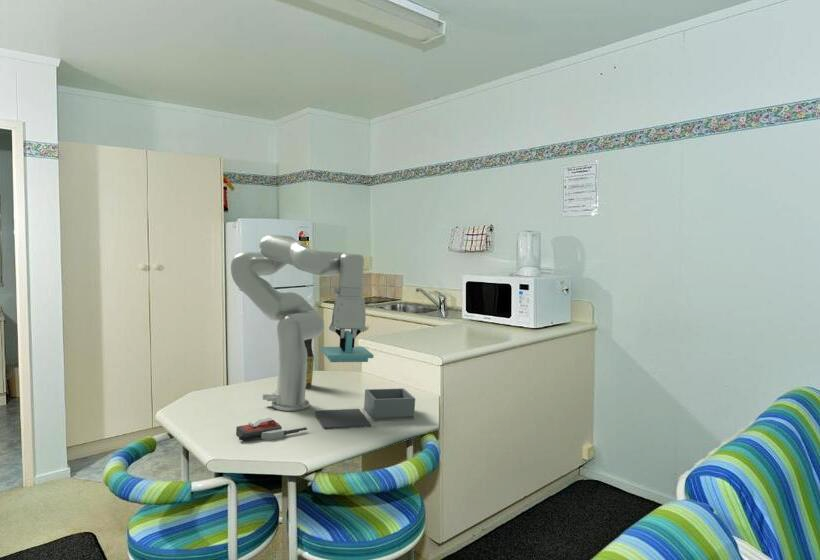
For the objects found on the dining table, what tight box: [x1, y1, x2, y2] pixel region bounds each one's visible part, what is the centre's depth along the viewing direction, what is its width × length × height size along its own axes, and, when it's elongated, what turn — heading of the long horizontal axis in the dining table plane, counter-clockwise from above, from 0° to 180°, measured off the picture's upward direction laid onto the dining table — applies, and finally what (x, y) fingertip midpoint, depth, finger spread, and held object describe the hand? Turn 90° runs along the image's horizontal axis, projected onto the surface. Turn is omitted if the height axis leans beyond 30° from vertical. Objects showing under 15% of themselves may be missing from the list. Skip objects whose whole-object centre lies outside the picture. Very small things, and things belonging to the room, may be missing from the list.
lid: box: [320, 330, 375, 363], centre depth 172 cm, size 14×12×8 cm
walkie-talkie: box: [235, 417, 308, 442], centre depth 156 cm, size 9×4×20 cm
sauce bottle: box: [304, 339, 315, 388], centre depth 208 cm, size 6×6×20 cm
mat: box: [314, 408, 372, 430], centre depth 173 cm, size 15×16×1 cm
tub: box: [363, 387, 416, 422], centre depth 182 cm, size 14×12×7 cm
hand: (346, 349), depth 172 cm, fingers closed on lid
